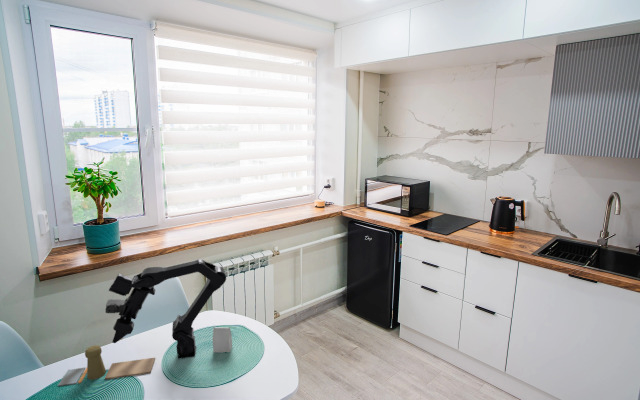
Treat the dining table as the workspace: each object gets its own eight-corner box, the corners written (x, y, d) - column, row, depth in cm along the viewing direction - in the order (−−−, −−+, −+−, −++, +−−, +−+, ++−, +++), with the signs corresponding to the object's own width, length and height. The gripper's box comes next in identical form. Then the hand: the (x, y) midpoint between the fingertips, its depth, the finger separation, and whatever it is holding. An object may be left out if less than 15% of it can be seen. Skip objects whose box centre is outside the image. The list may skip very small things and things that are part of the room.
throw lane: (155, 358, 144) (155, 357, 144) (150, 372, 136) (150, 371, 136) (68, 370, 137) (68, 369, 137) (57, 386, 129) (57, 384, 129)
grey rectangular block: (229, 352, 148) (228, 330, 146) (213, 352, 148) (211, 330, 146) (232, 347, 151) (231, 325, 149) (216, 346, 152) (214, 325, 150)
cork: (97, 380, 132) (93, 353, 129) (83, 378, 133) (78, 351, 131) (109, 369, 138) (106, 343, 135) (96, 367, 139) (92, 342, 136)
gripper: (118, 282, 142) (98, 316, 142) (109, 303, 125) (87, 343, 125) (146, 292, 146) (127, 325, 146) (141, 314, 129) (120, 352, 129)
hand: (115, 335), depth 136 cm, fingers open, 9 cm apart
